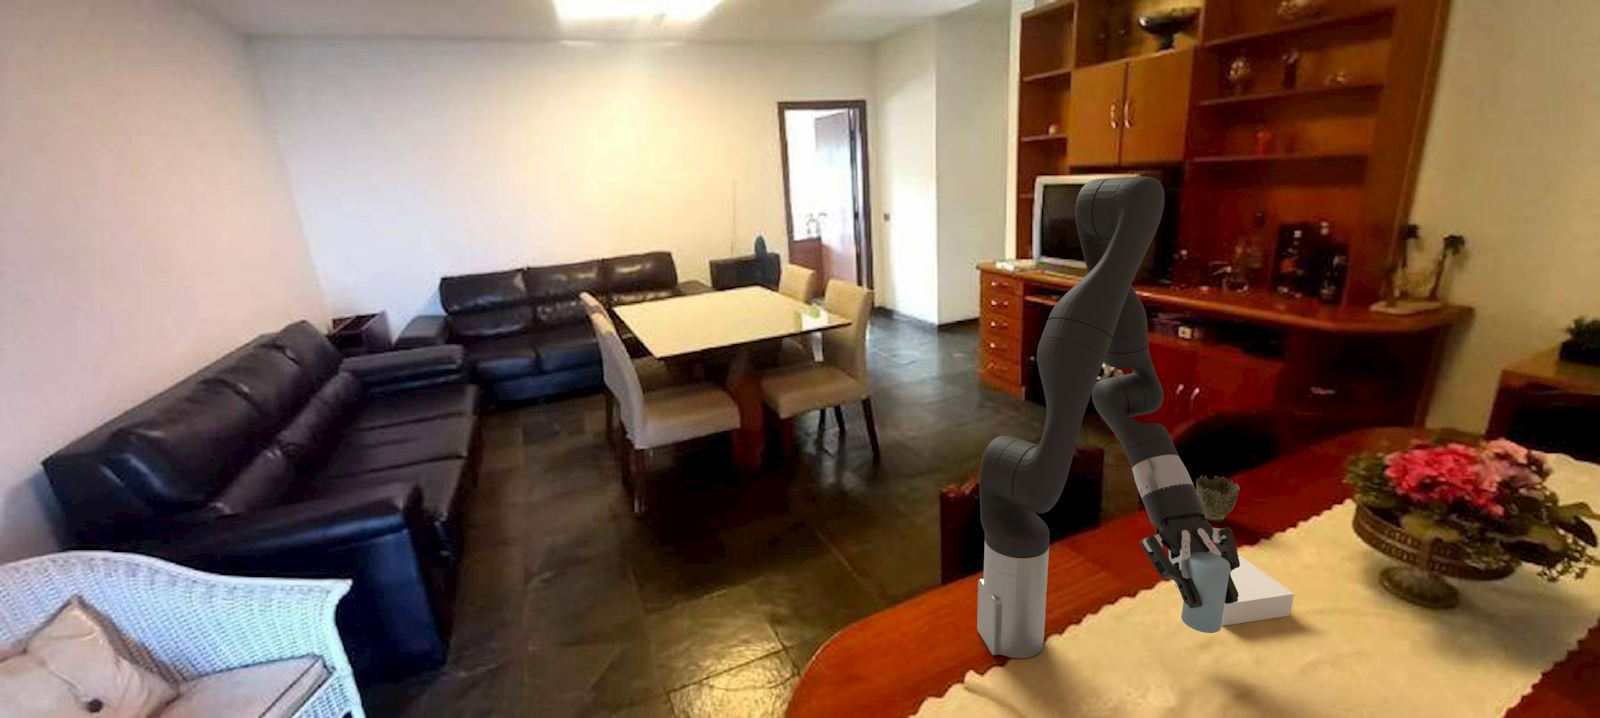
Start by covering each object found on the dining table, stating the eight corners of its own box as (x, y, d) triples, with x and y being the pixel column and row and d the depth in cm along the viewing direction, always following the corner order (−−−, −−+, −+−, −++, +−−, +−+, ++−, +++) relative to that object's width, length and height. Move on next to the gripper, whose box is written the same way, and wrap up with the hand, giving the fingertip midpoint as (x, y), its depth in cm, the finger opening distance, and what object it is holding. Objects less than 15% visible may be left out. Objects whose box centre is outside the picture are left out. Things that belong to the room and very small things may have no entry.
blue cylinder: (1197, 634, 95) (1206, 573, 92) (1173, 613, 99) (1181, 553, 97) (1229, 630, 95) (1238, 568, 93) (1203, 609, 100) (1212, 549, 97)
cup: (1228, 511, 138) (1233, 476, 135) (1240, 529, 131) (1245, 492, 129) (1187, 508, 140) (1192, 473, 137) (1197, 526, 133) (1202, 489, 131)
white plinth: (1222, 625, 105) (1225, 604, 104) (1174, 584, 115) (1176, 564, 114) (1290, 615, 106) (1294, 593, 105) (1237, 575, 117) (1240, 555, 116)
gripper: (1136, 486, 98) (1184, 606, 90) (1223, 477, 100) (1278, 593, 92) (1111, 502, 105) (1154, 615, 97) (1194, 493, 107) (1242, 603, 99)
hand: (1214, 604), depth 94 cm, fingers closed on blue cylinder, 5 cm apart
